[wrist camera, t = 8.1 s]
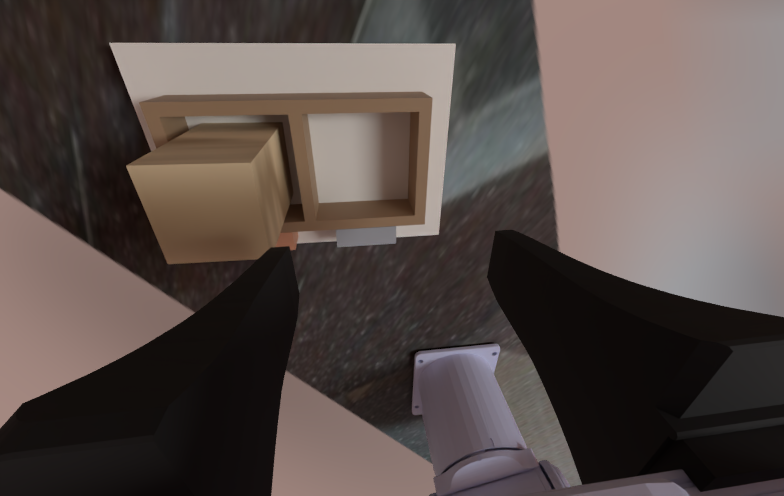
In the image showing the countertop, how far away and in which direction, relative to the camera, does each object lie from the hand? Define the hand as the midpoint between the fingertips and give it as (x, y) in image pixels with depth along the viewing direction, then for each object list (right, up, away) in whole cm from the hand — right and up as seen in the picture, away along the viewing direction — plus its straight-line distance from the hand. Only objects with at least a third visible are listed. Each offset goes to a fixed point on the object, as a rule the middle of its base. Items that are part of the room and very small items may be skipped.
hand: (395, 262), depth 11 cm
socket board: (-5, +6, +8) cm, 11 cm away
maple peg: (-8, +5, +7) cm, 12 cm away
